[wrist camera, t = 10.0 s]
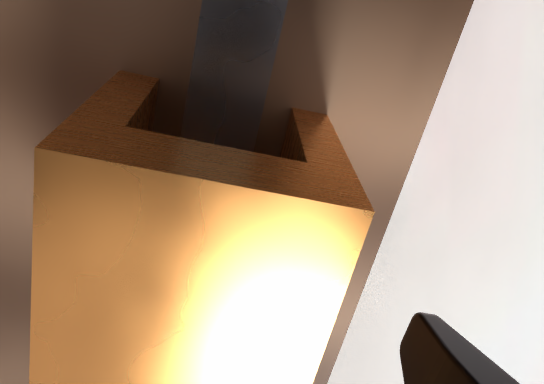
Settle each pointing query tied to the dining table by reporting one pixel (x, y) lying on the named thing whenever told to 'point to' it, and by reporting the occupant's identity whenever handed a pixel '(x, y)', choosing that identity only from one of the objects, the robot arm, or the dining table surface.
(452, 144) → the dining table surface
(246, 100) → the grey flat rectangular block
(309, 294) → the block
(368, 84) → the walnut board
